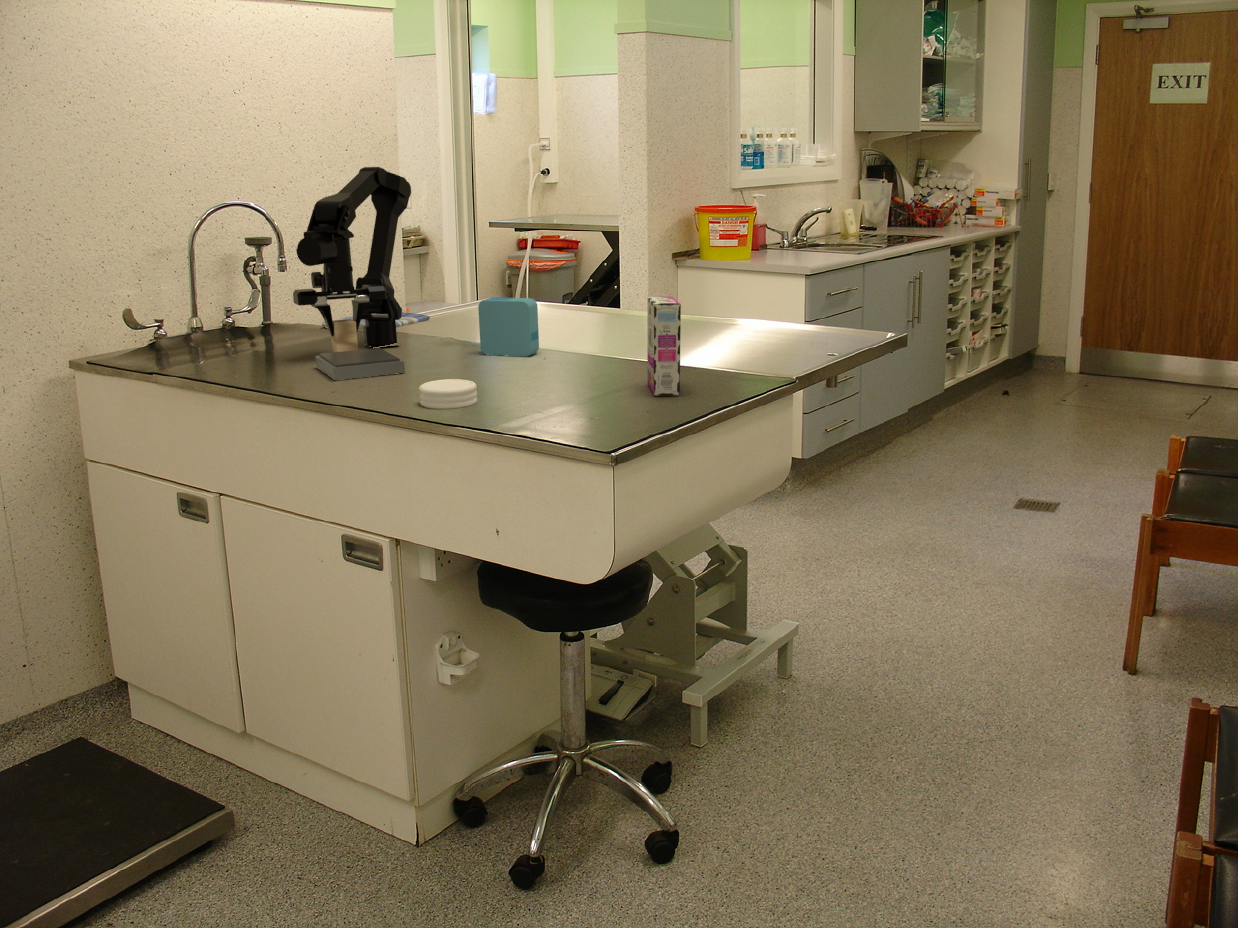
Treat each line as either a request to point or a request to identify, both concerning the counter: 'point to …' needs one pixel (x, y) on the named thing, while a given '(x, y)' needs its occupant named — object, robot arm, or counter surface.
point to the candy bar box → (664, 345)
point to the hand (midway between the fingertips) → (343, 335)
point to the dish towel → (404, 320)
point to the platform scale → (359, 363)
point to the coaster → (448, 394)
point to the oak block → (344, 336)
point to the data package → (508, 326)
